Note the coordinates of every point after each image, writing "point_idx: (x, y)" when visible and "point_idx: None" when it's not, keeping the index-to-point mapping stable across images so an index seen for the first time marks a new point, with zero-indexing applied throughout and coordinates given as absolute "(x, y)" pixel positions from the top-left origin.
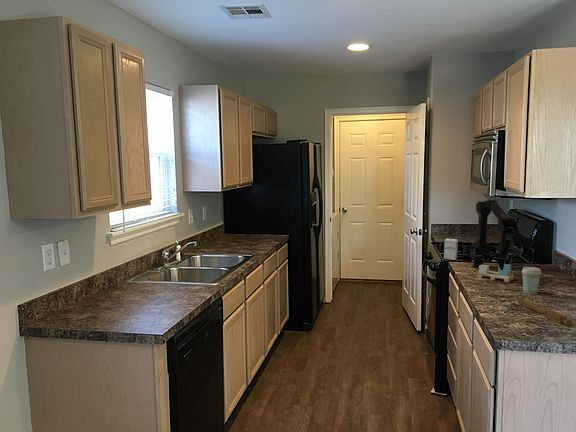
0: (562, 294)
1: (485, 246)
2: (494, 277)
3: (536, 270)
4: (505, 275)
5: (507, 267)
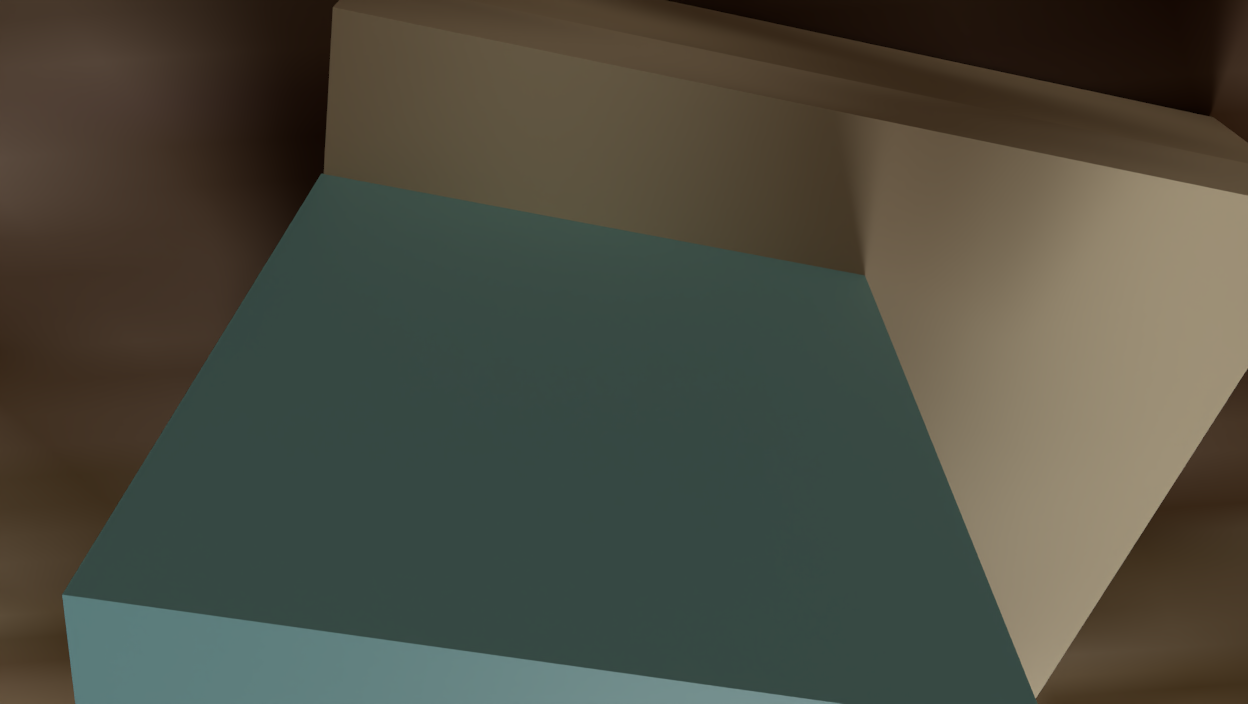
0: None
1: None
2: None
3: None
4: None
5: (999, 696)
